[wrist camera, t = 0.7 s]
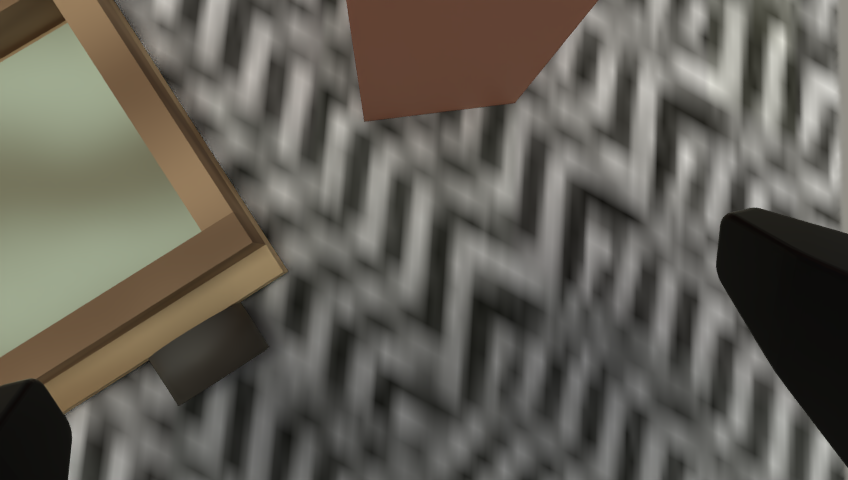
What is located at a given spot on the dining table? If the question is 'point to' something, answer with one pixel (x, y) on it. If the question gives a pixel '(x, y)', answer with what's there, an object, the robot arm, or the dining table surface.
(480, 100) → the reddish brown block
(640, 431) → the dining table surface
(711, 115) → the dining table surface
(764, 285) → the robot arm
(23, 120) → the chassis
